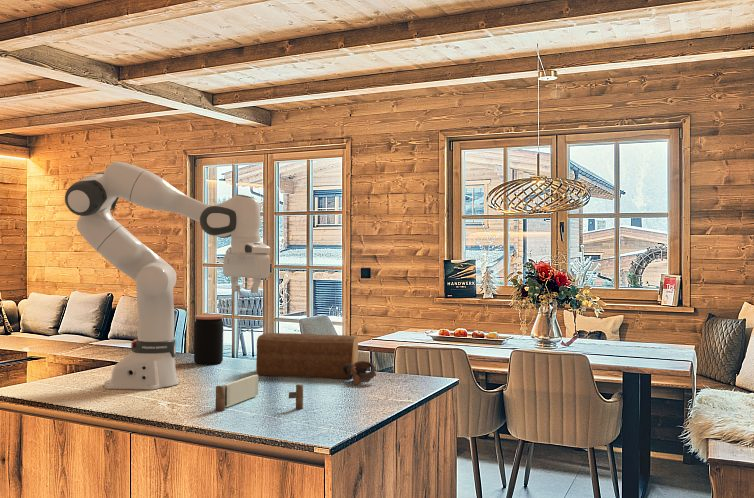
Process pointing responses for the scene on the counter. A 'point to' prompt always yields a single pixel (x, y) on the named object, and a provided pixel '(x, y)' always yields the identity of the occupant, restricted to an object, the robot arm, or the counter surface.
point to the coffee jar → (208, 339)
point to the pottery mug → (359, 371)
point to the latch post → (298, 396)
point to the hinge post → (220, 398)
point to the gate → (241, 390)
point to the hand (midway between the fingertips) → (245, 292)
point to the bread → (305, 355)
